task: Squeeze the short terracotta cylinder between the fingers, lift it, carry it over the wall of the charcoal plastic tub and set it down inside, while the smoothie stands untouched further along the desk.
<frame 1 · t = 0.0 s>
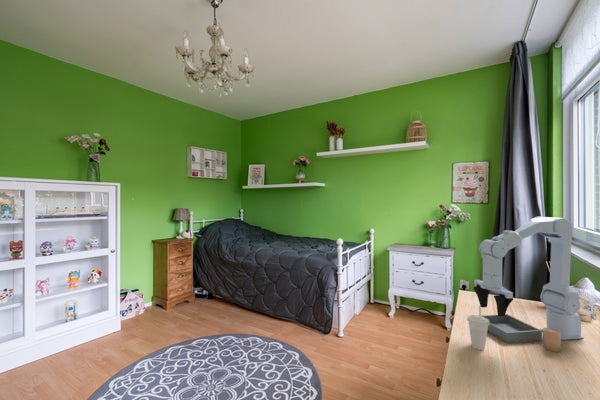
hand: (492, 311, 97), 10 cm above the table, fingers open, 7 cm apart
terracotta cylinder: (551, 348, 91), on the table
tub: (507, 332, 103), on the table
smoothie: (478, 347, 92), on the table
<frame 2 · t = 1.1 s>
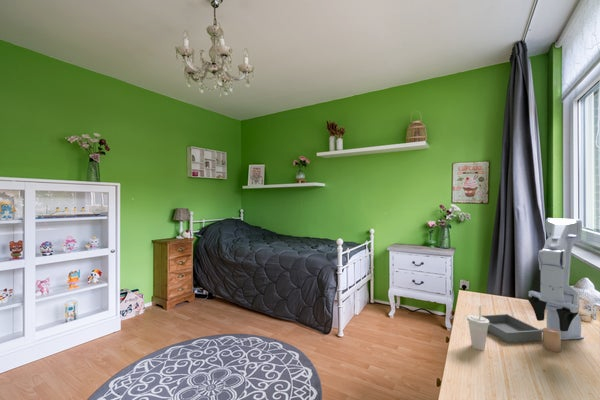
hand: (551, 325, 91), 8 cm above the table, fingers open, 7 cm apart
nothing on the table moved.
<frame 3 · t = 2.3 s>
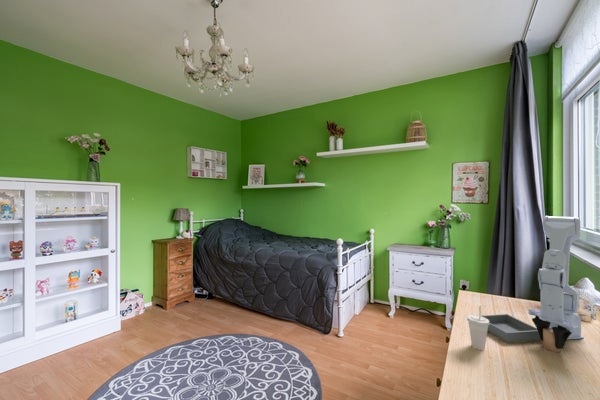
hand: (551, 344, 91), 1 cm above the table, fingers closed on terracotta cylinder, 4 cm apart
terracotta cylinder: (551, 348, 91), on the table, touching gripper
everything else where it was.
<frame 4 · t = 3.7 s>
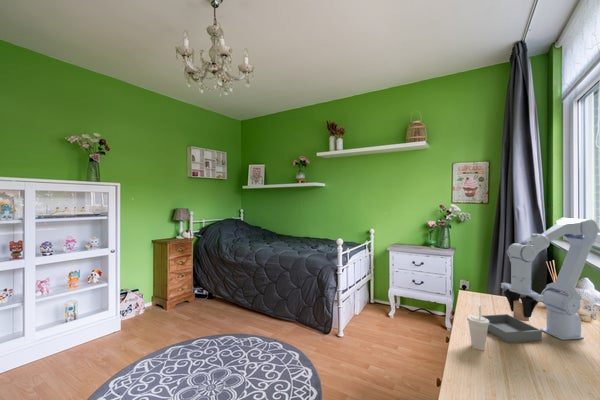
hand: (520, 314, 99), 8 cm above the table, fingers closed on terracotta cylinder, 4 cm apart
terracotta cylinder: (521, 318, 99), point 7 cm above the table, touching gripper
everything else where it was.
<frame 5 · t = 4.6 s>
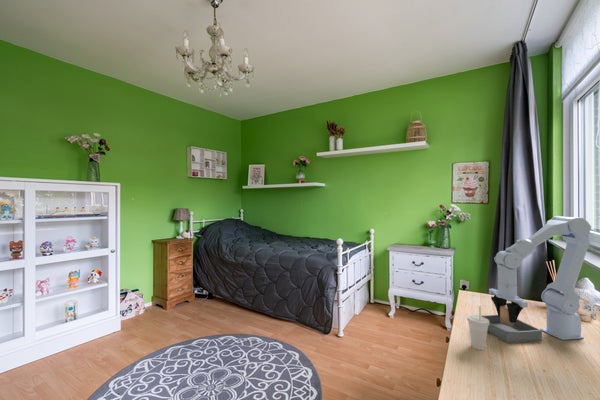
hand: (506, 319, 103), 5 cm above the table, fingers closed on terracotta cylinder, 4 cm apart
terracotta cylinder: (507, 323, 103), point 3 cm above the table, touching gripper
everything else where it was.
when the fingers open (4 cm above the table, at t = 5.2 s): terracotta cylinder drops 2 cm, resting on tub.
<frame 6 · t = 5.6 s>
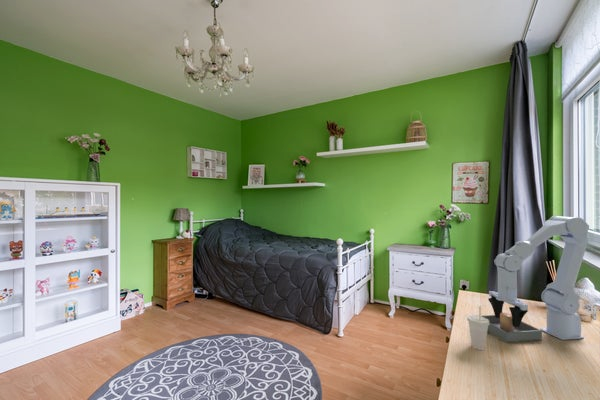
hand: (507, 321, 103), 4 cm above the table, fingers open, 7 cm apart
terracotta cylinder: (507, 330, 103), point 1 cm above the table, touching tub
everything else where it was.
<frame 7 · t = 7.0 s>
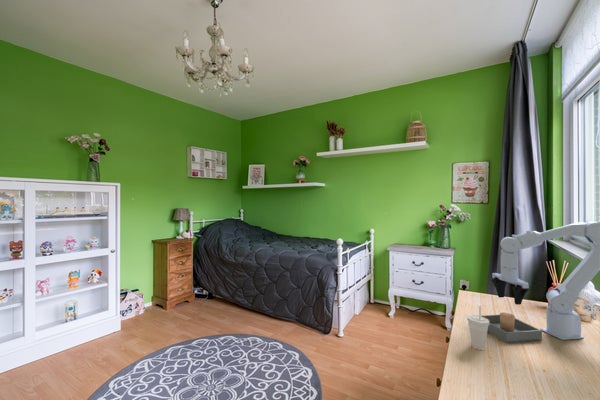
hand: (509, 300, 110), 9 cm above the table, fingers open, 7 cm apart
nothing on the table moved.
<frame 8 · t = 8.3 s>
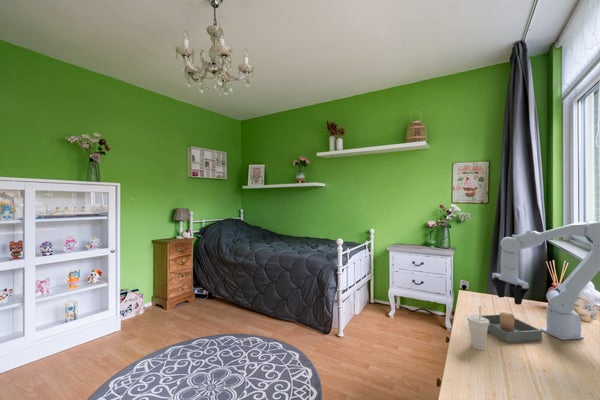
hand: (509, 300, 110), 9 cm above the table, fingers open, 7 cm apart
nothing on the table moved.
at the end: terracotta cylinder inside the target area on the tub (0.1 cm from its centre), point 0.5 cm above the tub's base; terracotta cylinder tilted 1°; the gripper is holding nothing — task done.
